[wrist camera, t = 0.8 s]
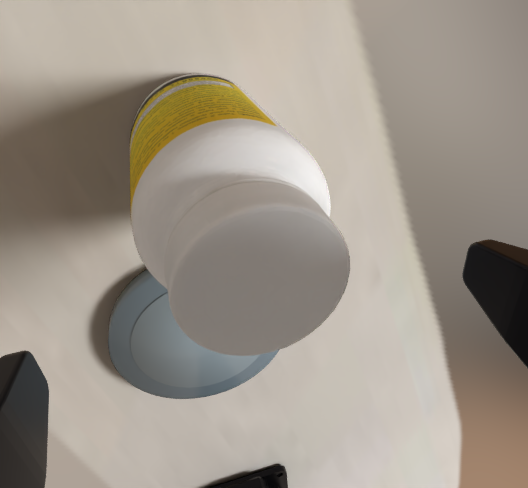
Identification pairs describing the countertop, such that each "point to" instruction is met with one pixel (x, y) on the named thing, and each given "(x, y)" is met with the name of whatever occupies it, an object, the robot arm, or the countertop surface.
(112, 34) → the countertop surface
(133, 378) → the dish
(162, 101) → the supplement bottle
